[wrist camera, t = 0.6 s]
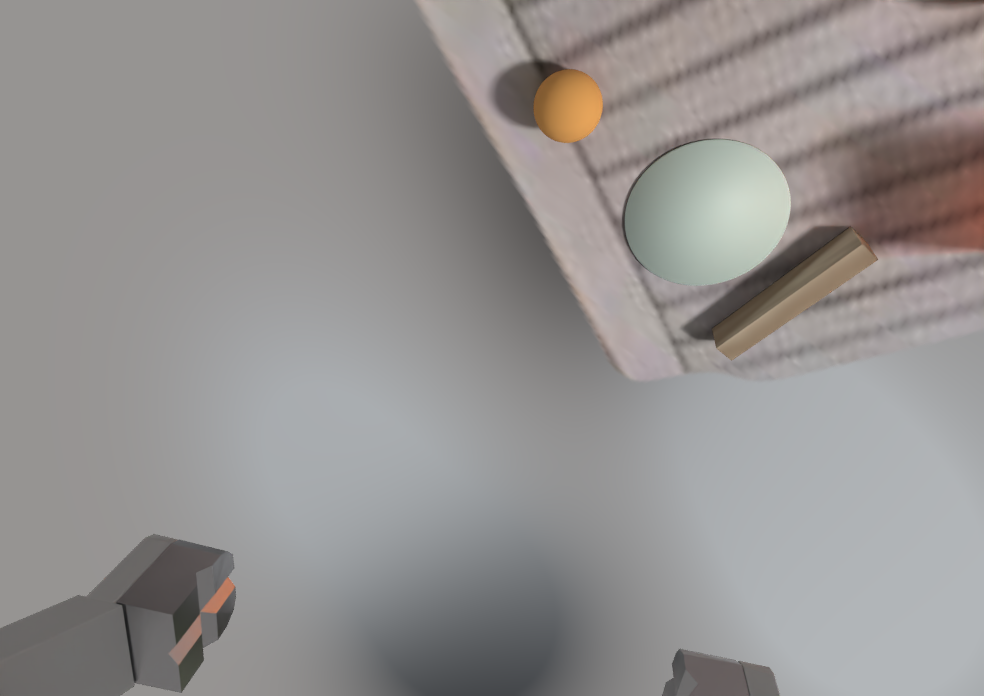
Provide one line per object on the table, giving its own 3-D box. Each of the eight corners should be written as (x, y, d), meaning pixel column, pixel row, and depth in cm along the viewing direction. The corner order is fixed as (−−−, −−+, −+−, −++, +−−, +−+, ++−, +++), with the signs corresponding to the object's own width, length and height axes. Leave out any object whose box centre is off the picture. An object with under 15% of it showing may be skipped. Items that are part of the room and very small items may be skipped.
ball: (562, 46, 46) (558, 64, 42) (616, 88, 47) (617, 109, 43) (523, 104, 49) (516, 126, 45) (575, 142, 50) (572, 166, 46)
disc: (702, 104, 47) (703, 105, 47) (826, 201, 50) (827, 202, 50) (593, 231, 55) (593, 232, 55) (706, 309, 58) (707, 310, 58)
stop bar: (712, 328, 59) (716, 348, 57) (850, 226, 51) (862, 244, 49) (726, 340, 59) (731, 360, 57) (865, 241, 52) (878, 259, 49)
